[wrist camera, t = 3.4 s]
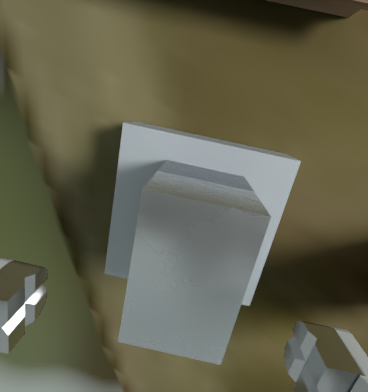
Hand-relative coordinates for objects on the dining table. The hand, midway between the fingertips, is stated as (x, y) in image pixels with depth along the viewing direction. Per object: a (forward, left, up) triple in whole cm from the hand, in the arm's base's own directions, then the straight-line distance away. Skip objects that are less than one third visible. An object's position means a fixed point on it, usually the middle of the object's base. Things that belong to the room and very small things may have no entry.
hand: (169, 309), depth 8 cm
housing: (0, -1, -8) cm, 8 cm away
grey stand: (0, -1, -11) cm, 11 cm away
